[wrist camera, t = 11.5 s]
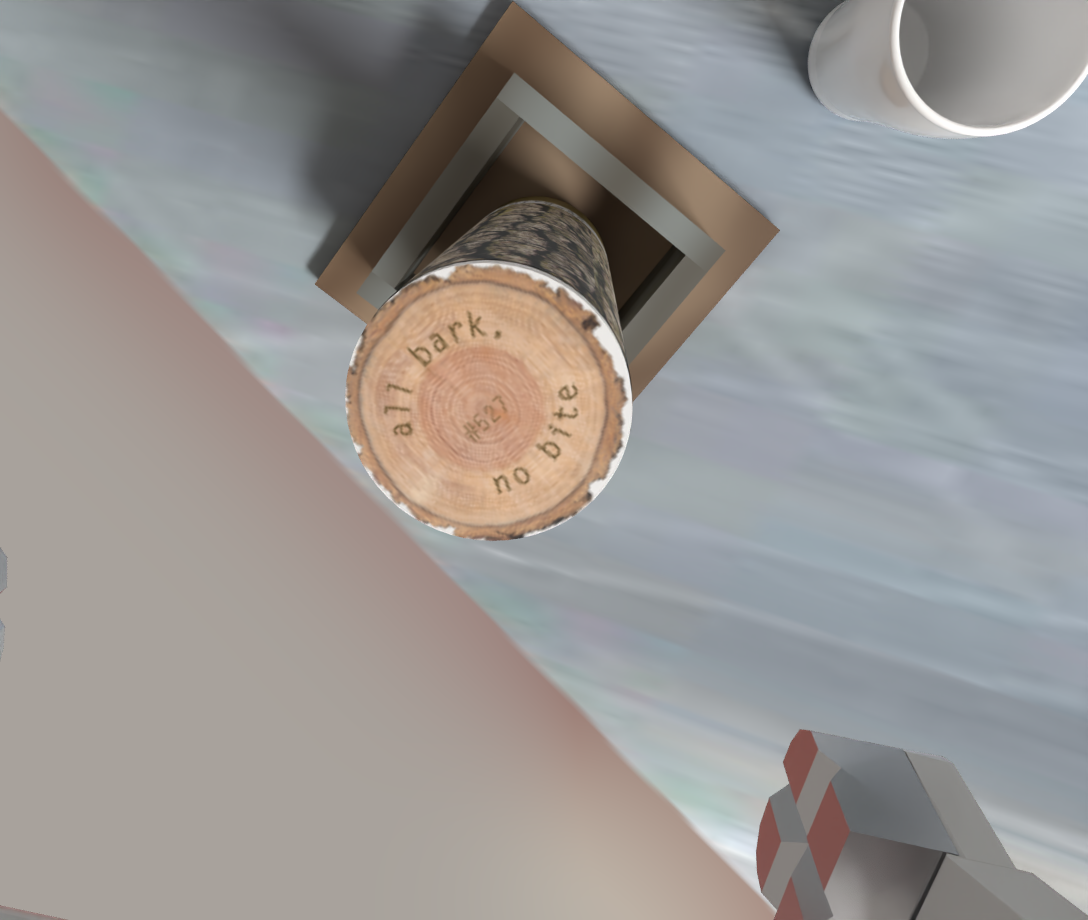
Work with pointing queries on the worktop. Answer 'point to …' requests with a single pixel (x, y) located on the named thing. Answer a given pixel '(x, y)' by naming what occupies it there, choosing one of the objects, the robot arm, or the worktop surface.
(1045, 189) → the worktop surface
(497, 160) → the grey square open box
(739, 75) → the worktop surface
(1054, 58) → the drinking glass
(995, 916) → the robot arm
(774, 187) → the worktop surface
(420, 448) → the paper tube
